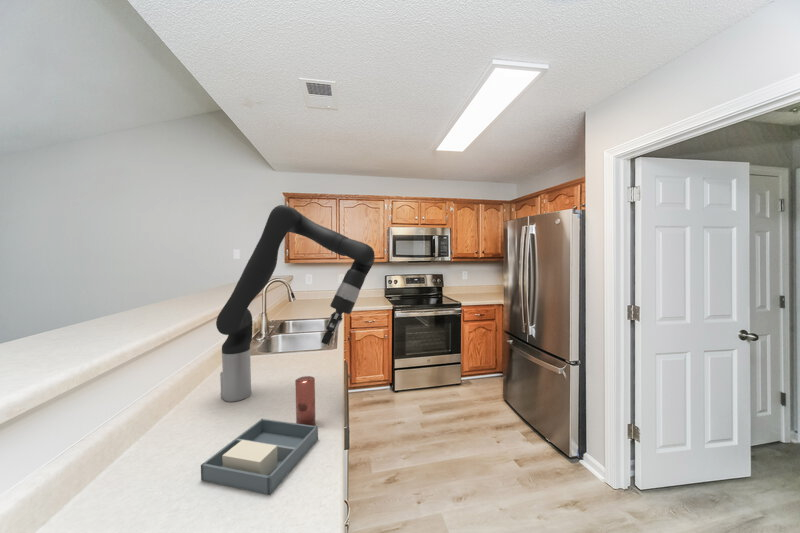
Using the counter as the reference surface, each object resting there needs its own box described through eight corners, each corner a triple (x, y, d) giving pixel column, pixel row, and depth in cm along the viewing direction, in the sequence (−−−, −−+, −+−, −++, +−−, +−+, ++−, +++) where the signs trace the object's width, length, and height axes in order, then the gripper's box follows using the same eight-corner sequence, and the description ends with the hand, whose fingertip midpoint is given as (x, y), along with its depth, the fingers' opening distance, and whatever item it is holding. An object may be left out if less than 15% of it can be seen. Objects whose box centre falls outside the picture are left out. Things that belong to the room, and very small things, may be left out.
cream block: (222, 476, 69) (222, 455, 68) (242, 459, 74) (242, 439, 74) (260, 484, 66) (259, 462, 66) (277, 465, 72) (277, 445, 72)
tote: (201, 484, 68) (200, 465, 68) (262, 433, 87) (261, 418, 87) (270, 499, 63) (269, 478, 63) (318, 442, 83) (317, 426, 83)
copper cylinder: (292, 429, 89) (291, 382, 89) (303, 419, 95) (302, 375, 94) (309, 431, 88) (308, 384, 88) (319, 421, 93) (318, 377, 93)
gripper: (336, 295, 111) (317, 336, 107) (334, 292, 97) (312, 339, 93) (355, 303, 111) (336, 345, 108) (355, 301, 98) (334, 348, 94)
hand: (325, 342), depth 101 cm, fingers open, 8 cm apart
